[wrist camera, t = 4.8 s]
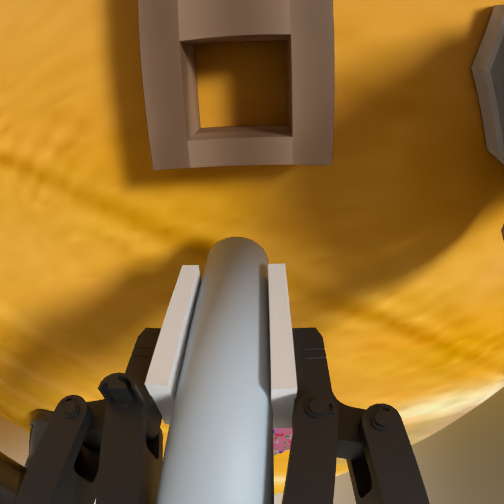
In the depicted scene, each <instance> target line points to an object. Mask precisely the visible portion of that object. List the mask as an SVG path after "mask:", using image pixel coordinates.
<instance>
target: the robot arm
mask: <svg viewBox="0 0 504 504" xmlns="http://www.w3.org/2000/svg"><path fill="white" fill-rule="evenodd" d="M200 285H201V277H200V271H199V265H182V268H181V271H180V274H179V277H178V280H177V283H176V285H175V288H174V291H173V294H172V297H171V300H170V303H169V306H168V309H167V313H166V316H165V319H164V322H163V325H162V328H161V329H160V328H145V330H144V331H143V332H142V333H141V334H140V335H139V336H138V338H137V341H136V344H135V346H134V349H133V352H132V357H130V360H129V363H128V366H127V369H126V372H125V373H114V374H111V375H109V376H107V377H105V378H104V379H103V380H102V381H101V383H100V385H99V387H98V389H99V391H100V392H101V394H102V395H103V397H104V398H105V399H103V400H98V401H91V402H85V400H84V399H83V398H82V397H80V396H78V395H70V396H66V397H65V398H63V399H62V400H61V401H60V402H59V403H58V405H57V407H56V409H55V411H54V413H53V412H49V411H45V410H36V411H35V412H34V415H33V417H32V419H31V422H30V427H31V430H30V441H29V456H28V458H27V461H26V464H25V466H22V465H20V464H19V463H17V462H16V461H14V460H12V459H11V458H9V457H8V456H6V455H5V454H3V453H2V452H0V504H94V502H95V499H96V504H156V499H157V493H158V487H159V481H160V475H161V469H162V463H163V434H162V430H161V428H160V425H161V420H162V419H163V420H164V422H165V424H170V421H171V416H172V411H173V406H174V401H175V396H176V391H177V386H178V381H179V377H180V372H181V367H182V363H183V358H184V354H185V349H186V345H187V340H188V336H189V331H190V327H191V323H192V318H193V314H194V310H195V306H196V301H197V297H198V293H199V289H200ZM268 292H269V328H270V372H271V406H272V410H273V429H276V428H292V440H291V446H290V455H289V461H288V468H287V474H286V481H285V487H284V493H283V499H282V504H333V497H334V485H335V472H336V457H339V458H344V459H346V460H347V464H348V468H349V473H350V477H351V481H352V486H353V491H354V495H355V500H356V504H429V500H428V497H427V494H426V490H425V487H424V484H423V480H422V477H421V474H420V471H419V468H418V465H417V462H416V459H415V456H414V453H413V450H412V447H411V444H410V441H409V439H408V436H407V433H406V430H405V427H404V425H403V422H402V419H401V416H400V415H399V413H398V411H397V410H396V409H395V408H393V407H392V406H390V405H387V404H375V405H372V406H370V407H369V408H368V409H367V410H365V409H360V408H354V407H350V406H347V405H344V404H343V403H341V402H339V401H338V400H337V399H336V397H335V396H334V394H333V392H332V388H331V382H330V376H329V370H328V365H327V359H326V353H325V350H324V342H323V337H322V336H321V334H320V333H319V332H318V330H317V329H316V328H292V325H291V315H290V305H289V295H288V286H287V277H286V268H285V264H268Z"/></svg>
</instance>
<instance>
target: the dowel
mask: <svg viewBox="0 0 504 504" xmlns="http://www.w3.org/2000/svg"><path fill="white" fill-rule="evenodd" d="M156 504H274V464H273V410H272V406H271V372H270V328H269V292H268V257H267V255H266V253H265V251H264V249H263V248H262V247H261V246H260V245H259V244H257V243H256V242H254V241H252V240H250V239H247V238H243V237H230V238H226V239H223V240H221V241H219V242H218V243H216V244H215V245H214V246H213V247H212V248H211V250H210V251H209V254H208V257H207V261H206V265H205V269H204V273H203V277H202V281H201V285H200V289H199V293H198V297H197V301H196V306H195V310H194V314H193V318H192V323H191V327H190V331H189V336H188V340H187V345H186V349H185V354H184V358H183V363H182V367H181V372H180V377H179V381H178V386H177V391H176V396H175V401H174V406H173V411H172V416H171V421H170V426H169V431H168V436H167V442H166V447H165V452H164V458H163V463H162V469H161V475H160V481H159V487H158V493H157V499H156Z"/></svg>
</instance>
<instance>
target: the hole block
mask: <svg viewBox="0 0 504 504" xmlns="http://www.w3.org/2000/svg"><path fill="white" fill-rule="evenodd" d="M138 18H139V38H140V54H141V67H142V79H143V89H144V99H145V109H146V117H147V126H148V134H149V141H150V149H151V156H152V163H153V170H165V169H179V168H195V167H213V166H239V165H332V155H333V130H334V19H333V0H138ZM246 41H286V49H287V92H288V125H255V126H229V127H211V128H200V117H199V104H198V90H197V76H196V60H195V46H196V45H205V44H216V43H228V42H246Z"/></svg>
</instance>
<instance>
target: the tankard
mask: <svg viewBox="0 0 504 504" xmlns="http://www.w3.org/2000/svg"><path fill="white" fill-rule="evenodd" d="M471 69H472V73H473V77H474V81H475V85H476V89H477V94H478V98H479V103H480V108H481V113H482V119H483V125H484V131H485V138H486V145H487V150H488V151H489V152H490V153H491V154H492V155H493V156H494V157H496V158H497V159H498V160H499V161H500V162H501V163H502V164H503V165H504V5H495V6H494V8H493V11H492V14H491V17H490V20H489V22H488V25H487V28H486V31H485V34H484V36H483V39H482V42H481V44H480V47H479V49H478V52H477V54H476V57H475V59H474V62H473V64H472V67H471ZM501 232H502V236H503V240H504V225H503V227H502V229H501Z"/></svg>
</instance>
